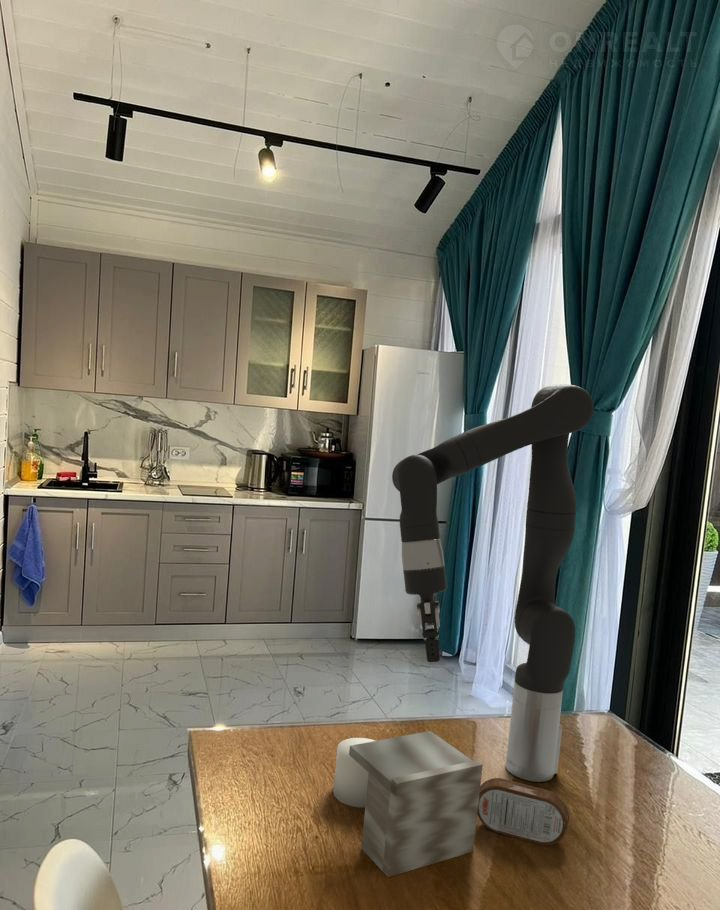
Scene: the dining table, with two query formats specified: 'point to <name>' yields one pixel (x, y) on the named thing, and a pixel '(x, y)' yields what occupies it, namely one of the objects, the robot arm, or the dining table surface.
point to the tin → (522, 811)
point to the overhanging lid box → (417, 801)
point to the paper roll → (350, 775)
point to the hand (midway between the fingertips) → (433, 657)
